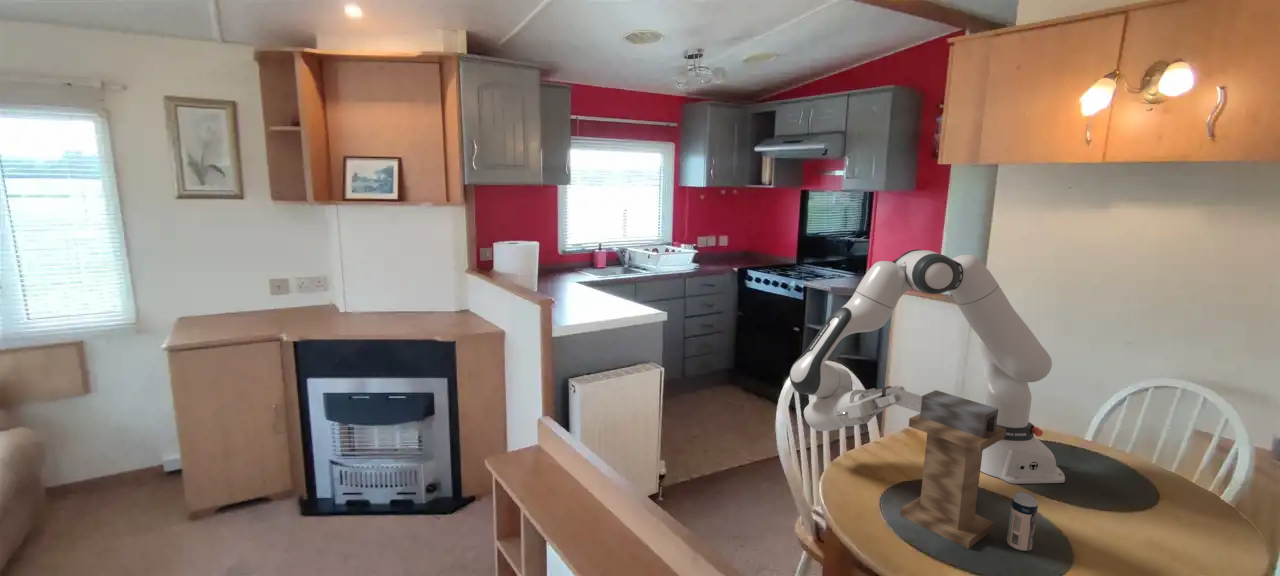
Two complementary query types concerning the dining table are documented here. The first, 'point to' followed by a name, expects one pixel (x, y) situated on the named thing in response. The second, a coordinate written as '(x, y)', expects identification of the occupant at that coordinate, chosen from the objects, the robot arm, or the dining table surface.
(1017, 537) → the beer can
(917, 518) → the stand
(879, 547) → the dining table surface
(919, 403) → the spindle bar
